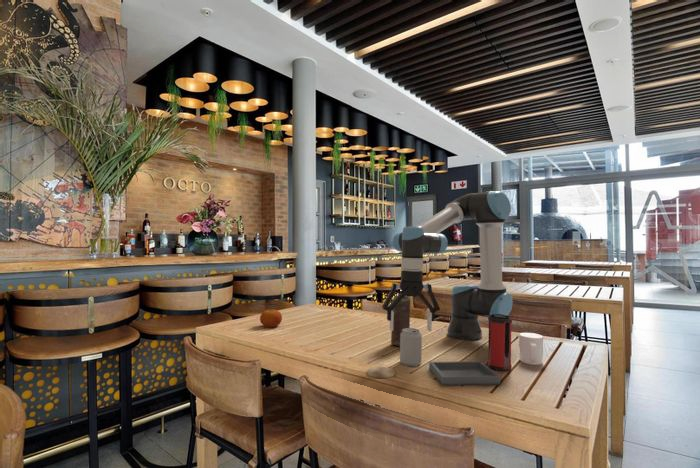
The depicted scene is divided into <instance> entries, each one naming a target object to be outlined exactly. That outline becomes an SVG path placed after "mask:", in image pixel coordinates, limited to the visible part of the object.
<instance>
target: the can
mask: <svg viewBox="0 0 700 468" xmlns="http://www.w3.org/2000/svg"><path fill="white" fill-rule="evenodd" d="M402 331H403V332H402V333H401V334H400V346H399V362H400V363H402V365H403V366H407V367H418V366H419V365H420V364H422V350H423V348H422V345H423V341H422V340H423V339H422V338H423V335H422V334H421V331H420V329H418V328H411V327H410V328H405V329H403V330H402Z"/></svg>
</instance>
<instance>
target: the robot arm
mask: <svg viewBox="0 0 700 468" xmlns="http://www.w3.org/2000/svg"><path fill="white" fill-rule="evenodd" d="M511 209H512V207H511V202H510V198H509V197H508V196H507V194H506V193H504V192H503V191H501V190H500V191H497V190H495V191H494V190H491V191H483V192H482V191H481V192H474V193H473V192H472V193H467V194H465V195H461V196H460V197H458V198H456V199H454V200H453V201H450V202H449V203H447V204H446V205H445V207H444V209H442V210H441V211H439V212H437V213H436V214H434V215H432V216H431V217H429V218H427V219H426V220H424V221H422V222H420V223H419V224H417V225H416V226H414V225H413V226H412V225H411V226H408V225H407V226H404V227H403V228H402V232H398V233H395V235H393V238H392V246H393V248H394V250H396V251H398V252H401V266H400V267H401V269H402V270H401V271H400V283H394V282H392V284H391V288H390V291H389V292H388V295H387V296H386V299H385V300H384V301H383V304H382V306H381V308H382V309H383V311H384V310H385V311H386V319H387V321H388V322H389V330H390V332H392V331H393V318H394V312H393V309H394V307H395V306H396V305H397V304H398V303H399V302H400V301H401V299H402V298H404V297H405V296H407V297H409V298H410V297H414V298H416V297H418V298H420V300H421V302H423V304H424V306H426V308H427V309H428V310H429V311H428V310H427V318H426V319H427V322H426V323H427V324H426V326H427V327H426V330H427V331H428V332H432V329H433V328H432V323H433V322H434V321H435V313H437V312H438V311H440V310H441V307H440V305H439V303H438V301H437V299H436V297H435V294H434V292H433V290H432V288H433V287H432V285H431V284H430V283H426V284H423V278H424V277H423V274H424V273H423V269H424V254H442V253H444V252H445V251H446V250H447V249H448V245H449V244H448V243H449V242H448V238H447V237H446V235H445V234H443V233H441V232H443V231H444V230H446V229H447V228H449V227H451V226H452V225H454V224H460V223H462V222H463V221H468V220H475V225H477V226H478V227H479V251H480V254H479V255H480V257H479V259H480V262H479V263H480V283H479V284H465V285H462V284H461V285H455V286H453V287H452V289H451V290H452V291H451V318H450V321H449V323H448V327H447V336H449V337H451V338H454V339H458V340H467V341H468V340H469V341H471V340H472V341H473V340H481V339H482V337H483V330H482V328H481V325H480V322H479V317H484V318H487V319H488V317H489V316H490V315H492V314H502V315H507V316H509V315H510V313H511V311H512V309H513V302H514V301H513V300H514V299H513V296H512V295H511V293H509V292H507V286H506V285H505V284H504V283H503V259H502V258H503V256H502V255H503V253H502V252H503V251H502V248H503V247H502V226H504V224H506V219H507V218H509V217H510V213H511ZM398 289H400V290H401V291H400V292H399V293H398V295H397V297H396V296H395V294H396V291H398ZM423 290H425V291H426V293H427V294H428V297H429V300H430V301H431V303H430V302H429V301H428V299H427V298H426V297H425V295H424V294H423V293H422V291H423ZM394 296H395V297H396V299H395V300H394V301H393V298H394ZM391 301H392V302H391ZM390 302H391V303H390ZM432 305H433V306H432Z"/></svg>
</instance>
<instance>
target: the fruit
mask: <svg viewBox="0 0 700 468" xmlns="http://www.w3.org/2000/svg"><path fill="white" fill-rule="evenodd" d="M259 320H260V321H259V322H260V323H261V325H262V326H263V327H266V328H276V327H278V326H279V325H281V322H282V320H283V315H282V313H281V312H280V311H279V310H277V309H266V310H264V311H262V312H261V313H260V316H259Z"/></svg>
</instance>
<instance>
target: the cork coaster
mask: <svg viewBox="0 0 700 468" xmlns="http://www.w3.org/2000/svg"><path fill="white" fill-rule="evenodd" d="M395 373H396V371H395V370H394V369H393V368H391V367H386V366H374V367H373V366H372V367H370V368H368V369H367V371H366V374H367V375H368V376H369V377H373V378H376V379H390V378H393V377H394V376H395Z"/></svg>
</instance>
